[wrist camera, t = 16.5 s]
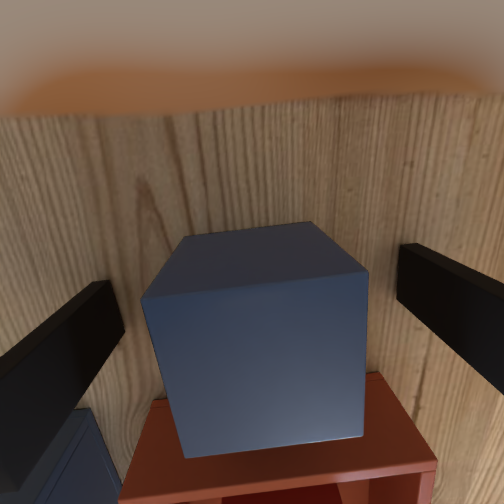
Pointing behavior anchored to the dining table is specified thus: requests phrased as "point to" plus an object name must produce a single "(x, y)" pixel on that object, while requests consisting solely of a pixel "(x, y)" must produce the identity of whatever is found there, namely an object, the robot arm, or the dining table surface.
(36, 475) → the blue bin
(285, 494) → the red block
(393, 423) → the red bin
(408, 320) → the dining table surface
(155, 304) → the blue block
